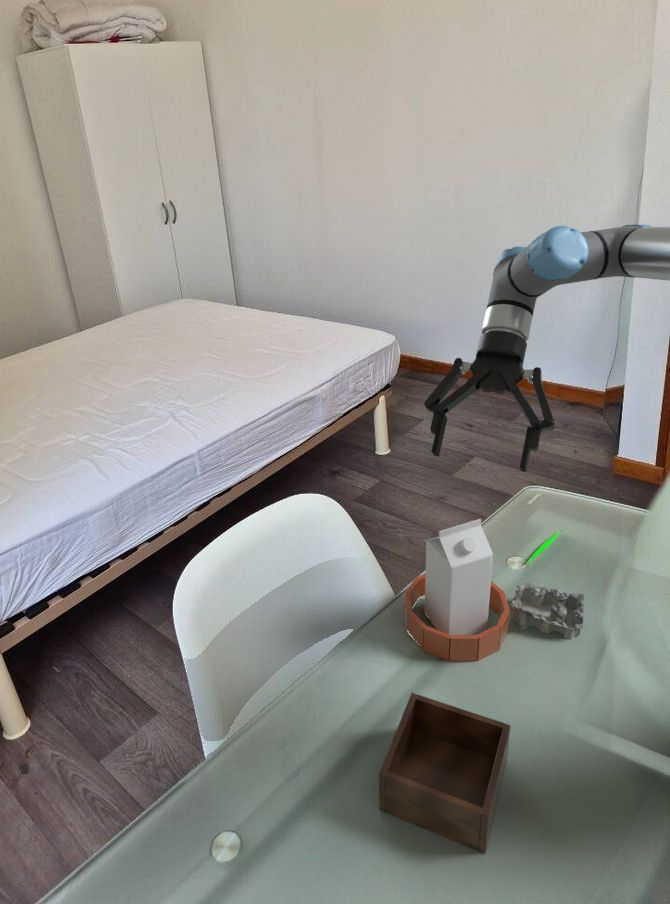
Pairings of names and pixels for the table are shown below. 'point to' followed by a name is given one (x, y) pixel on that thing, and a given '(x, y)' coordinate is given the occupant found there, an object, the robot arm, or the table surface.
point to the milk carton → (458, 579)
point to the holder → (445, 771)
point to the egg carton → (548, 609)
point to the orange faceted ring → (457, 644)
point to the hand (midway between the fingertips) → (477, 461)
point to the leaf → (543, 546)
